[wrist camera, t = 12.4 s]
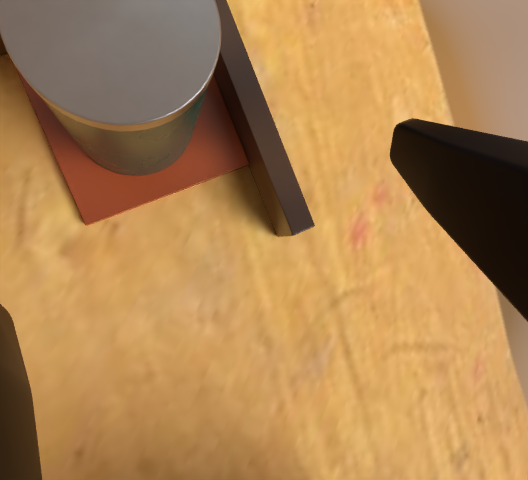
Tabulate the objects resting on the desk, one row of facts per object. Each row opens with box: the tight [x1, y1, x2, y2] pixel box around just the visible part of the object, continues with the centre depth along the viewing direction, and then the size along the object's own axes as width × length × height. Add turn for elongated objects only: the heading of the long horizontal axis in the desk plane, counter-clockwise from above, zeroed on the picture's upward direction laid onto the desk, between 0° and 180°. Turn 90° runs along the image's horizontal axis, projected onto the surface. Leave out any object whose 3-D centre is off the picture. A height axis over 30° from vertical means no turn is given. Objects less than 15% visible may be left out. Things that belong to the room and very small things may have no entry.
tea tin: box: [0, 0, 221, 176], centre depth 15 cm, size 6×6×8 cm
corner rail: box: [0, 0, 315, 237], centre depth 18 cm, size 14×11×2 cm
